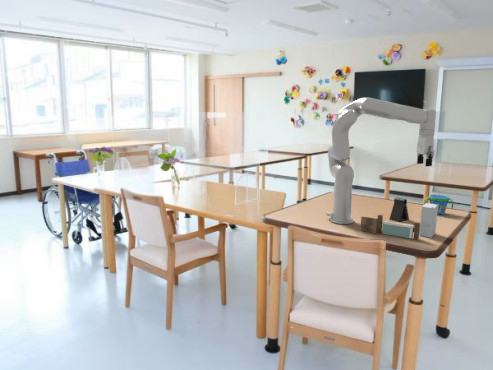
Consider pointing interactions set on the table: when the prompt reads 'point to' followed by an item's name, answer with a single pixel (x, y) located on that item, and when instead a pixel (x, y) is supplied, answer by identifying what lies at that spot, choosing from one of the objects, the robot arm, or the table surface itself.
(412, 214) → the table surface
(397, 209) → the door stopper
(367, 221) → the gate posts
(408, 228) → the gate
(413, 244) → the table surface
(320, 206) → the table surface
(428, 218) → the skincare box
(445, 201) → the snack cup
